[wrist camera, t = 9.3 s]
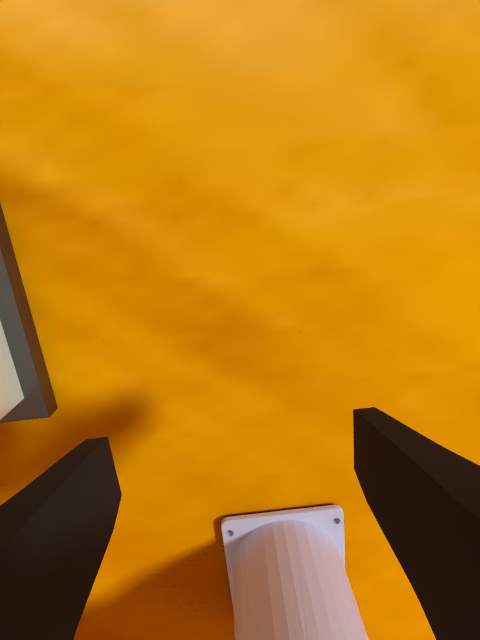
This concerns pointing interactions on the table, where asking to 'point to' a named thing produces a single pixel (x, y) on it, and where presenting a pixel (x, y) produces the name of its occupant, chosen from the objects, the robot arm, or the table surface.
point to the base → (22, 339)
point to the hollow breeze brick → (8, 379)
